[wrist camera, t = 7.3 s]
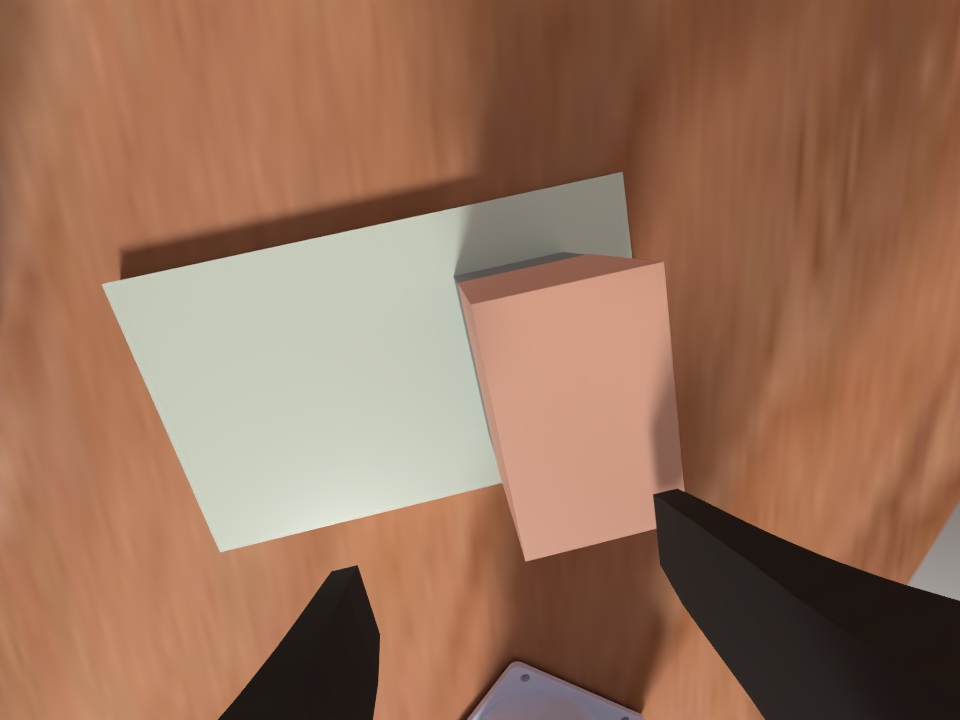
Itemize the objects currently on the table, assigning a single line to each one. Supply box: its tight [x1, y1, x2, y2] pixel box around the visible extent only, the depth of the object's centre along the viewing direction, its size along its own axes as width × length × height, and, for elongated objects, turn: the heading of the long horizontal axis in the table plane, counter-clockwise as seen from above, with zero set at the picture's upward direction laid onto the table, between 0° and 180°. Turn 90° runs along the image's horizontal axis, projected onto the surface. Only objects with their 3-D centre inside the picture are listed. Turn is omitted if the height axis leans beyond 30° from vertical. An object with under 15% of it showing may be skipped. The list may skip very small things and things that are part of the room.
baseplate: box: [102, 172, 632, 552], centre depth 19 cm, size 20×12×1 cm, turn 101°
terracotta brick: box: [458, 254, 684, 561], centre depth 14 cm, size 4×7×5 cm, turn 11°
